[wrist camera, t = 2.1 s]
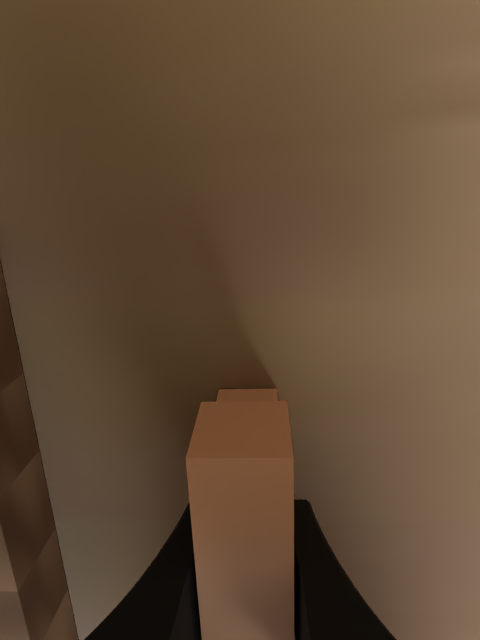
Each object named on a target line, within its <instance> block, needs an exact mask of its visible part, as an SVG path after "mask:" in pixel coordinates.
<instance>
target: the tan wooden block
mask: <svg viewBox="0 0 480 640" xmlns="http://www.w3.org/2000/svg"><path fill="white" fill-rule="evenodd" d="M186 469H187V480H188V491H189V502H190V514H191V525H192V536H193V547H194V558H195V569H196V581H197V592H198V603H199V614H200V625H201V636H202V640H294V455H293V446H292V437H291V428H290V420H289V411H288V402H287V401H278V395H277V388H273V389H219V390H218V395H217V400H216V402H201V405H200V408H199V412H198V415H197V419H196V423H195V426H194V430H193V433H192V437H191V441H190V444H189V448H188V451H187V455H186Z"/></svg>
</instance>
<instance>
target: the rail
mask: <svg viewBox="0 0 480 640" xmlns="http://www.w3.org/2000/svg"><path fill="white" fill-rule="evenodd" d="M0 640H78V636H77V631H76V626H75V621H74V616H73V612H72V607H71V602H70V597H69V592H68V587H67V582H66V578H65V573H64V568H63V563H62V558H61V553H60V549H59V544H58V539H57V534H56V529H55V524H54V519H53V515H52V510H51V505H50V500H49V495H48V490H47V485H46V481H45V476H44V471H43V466H42V461H41V456H40V452H39V447H38V442H37V437H36V432H35V427H34V422H33V418H32V413H31V408H30V403H29V398H28V393H27V389H26V384H25V379H24V374H23V369H22V364H21V359H20V355H19V350H18V345H17V340H16V335H15V330H14V326H13V321H12V316H11V311H10V306H9V301H8V296H7V292H6V287H5V282H4V277H3V272H2V267H1V263H0Z"/></svg>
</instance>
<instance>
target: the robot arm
mask: <svg viewBox="0 0 480 640" xmlns="http://www.w3.org/2000/svg"><path fill="white" fill-rule="evenodd" d="M294 634H295V640H396V639H395V638H394V636H393V635H392V634H391V633H390V632H389V631H388V630H387V628H386V627H385V626H384V625H383V623H382V622H381V621H380V620H379V619H378V617H377V616H376V615H375V614H374V612H373V611H372V610H371V608H370V607H369V606H368V604H367V603H366V602H365V600H364V599H363V598H362V596H361V595H360V593H359V592H358V591H357V589H356V588H355V586H354V585H353V583H352V582H351V580H350V579H349V577H348V576H347V574H346V573H345V571H344V569H343V568H342V566H341V565H340V563H339V561H338V560H337V558H336V556H335V554H334V553H333V551H332V549H331V547H330V546H329V544H328V542H327V540H326V538H325V536H324V534H323V532H322V530H321V528H320V526H319V524H318V522H317V520H316V518H315V515H314V513H313V510H312V507H311V504H310V503H309V502H308V501H307V500H294ZM84 640H202V636H201V625H200V614H199V603H198V592H197V581H196V569H195V558H194V547H193V536H192V525H191V514H190V502H189V504H188V506H187V508H186V510H185V511H184V513H183V515H182V517H181V519H180V520H179V522H178V524H177V525H176V527H175V529H174V530H173V532H172V534H171V535H170V537H169V538H168V540H167V541H166V543H165V544H164V546H163V547H162V549H161V550H160V552H159V553H158V555H157V556H156V558H155V559H154V560H153V562H152V563H151V564H150V566H149V567H148V568H147V570H146V571H145V572H144V574H143V575H142V577H141V578H140V579H139V580H138V582H137V583H136V584H135V585H134V587H133V588H132V589H131V590H130V592H129V593H128V594H127V595H126V596H125V597H124V599H123V600H122V601H121V602H120V603H119V604H118V605H117V607H116V608H115V609H114V610H113V611H112V612H111V613H110V614H109V615H108V616H107V617H106V618H105V619H104V620H103V621H102V622H101V623H100V624H99V626H98V627H97V628H96V629H95V630H94V631H93V632H92V633H91V634H90V635H88V636H87V637H86V638H85V639H84Z"/></svg>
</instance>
